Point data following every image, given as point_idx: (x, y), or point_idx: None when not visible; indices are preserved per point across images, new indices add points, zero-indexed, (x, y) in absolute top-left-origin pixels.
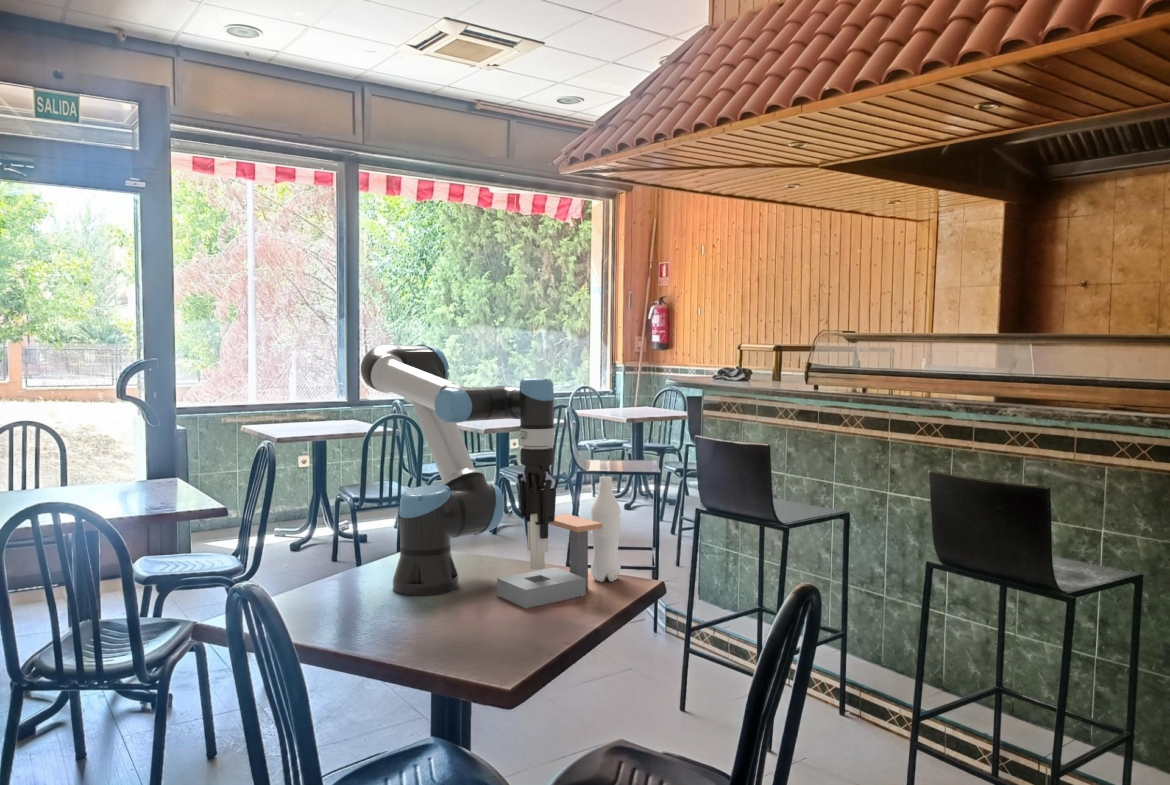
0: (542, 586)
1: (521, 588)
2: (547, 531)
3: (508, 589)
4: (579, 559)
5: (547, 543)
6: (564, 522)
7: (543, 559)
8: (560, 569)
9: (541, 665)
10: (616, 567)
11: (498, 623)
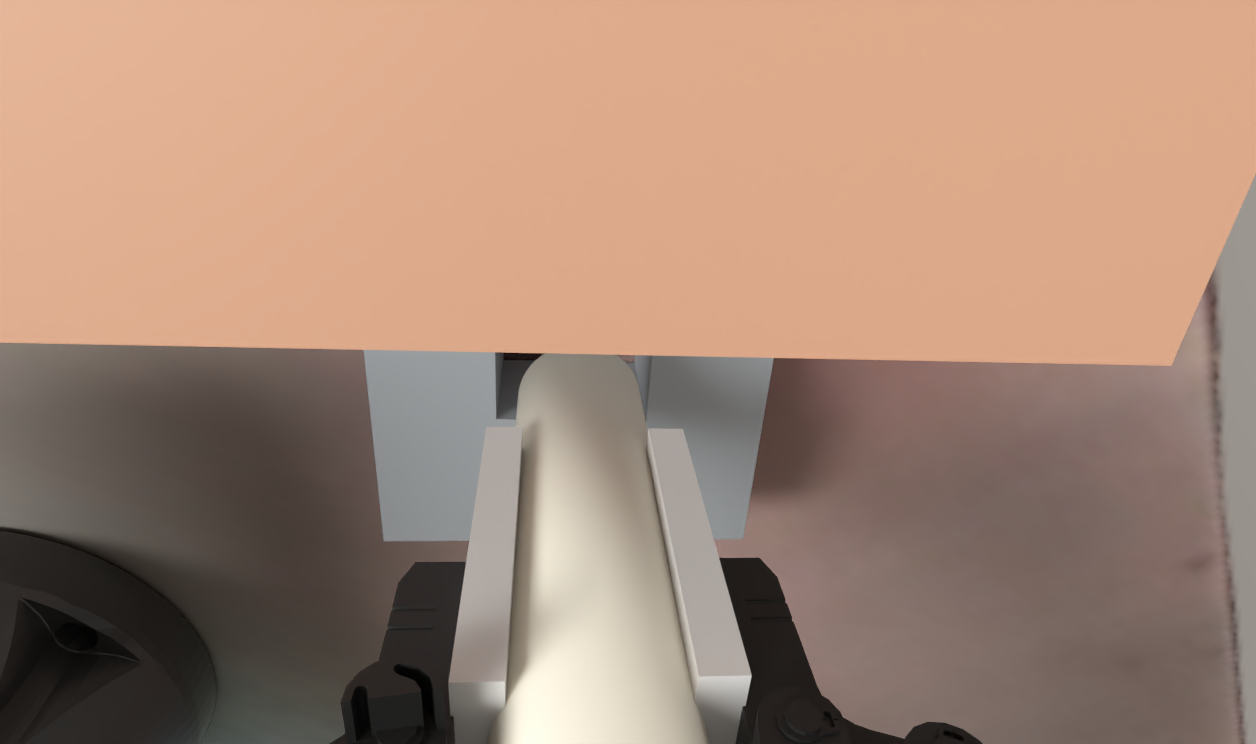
0: (758, 430)
1: None
2: (792, 631)
3: None
4: None
5: (698, 485)
6: (728, 313)
7: (641, 415)
8: None
9: (1234, 711)
10: None
11: (803, 646)
